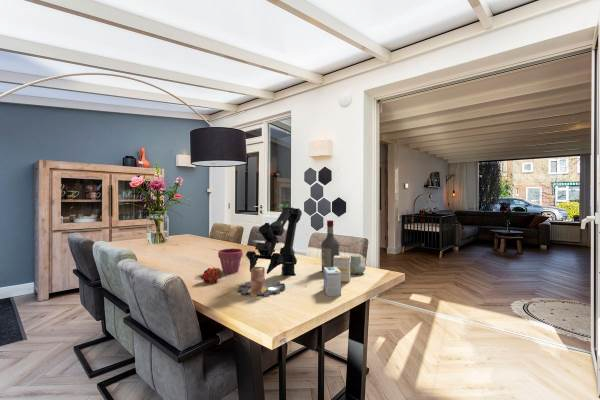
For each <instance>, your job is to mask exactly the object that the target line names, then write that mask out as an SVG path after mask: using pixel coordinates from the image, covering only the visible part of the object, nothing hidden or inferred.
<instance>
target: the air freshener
mask: <svg viewBox="0 0 600 400" xmlns="http://www.w3.org/2000/svg"><path fill="white" fill-rule="evenodd" d="M366 269H367V268H366V265H365V263H362V256H361V255H360V254H351V255H350V274H352V275H360V274H363V273H364V272H365V271H366Z"/></svg>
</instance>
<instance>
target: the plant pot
mask: <svg viewBox="0 0 600 400" xmlns="http://www.w3.org/2000/svg"><path fill="white" fill-rule="evenodd" d="M217 256H218V258H219V263H220V265H221V269H222V270H221V271H222V274H226V275H227V274H228V275H231V274H236V273H238V272H239V270H240V266H241V259H242V258H243V256H244V252H243V249H241V248H224V249H219V250H218V254H217Z"/></svg>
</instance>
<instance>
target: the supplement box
mask: <svg viewBox="0 0 600 400" xmlns="http://www.w3.org/2000/svg"><path fill="white" fill-rule="evenodd" d="M333 262H334V267H337V268H338V269H339V270H340V272H341V283H350V281H351V273H350V263H351V255H339V256H336V255H335V256H334V257H333Z"/></svg>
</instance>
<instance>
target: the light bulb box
mask: <svg viewBox="0 0 600 400" xmlns="http://www.w3.org/2000/svg"><path fill="white" fill-rule="evenodd" d="M323 291H324V292H325V295H326V296H327V297H338V296H339V297H341V296H342V282H341V272H340V270H339V269H338V268H337V267H324V272H323Z"/></svg>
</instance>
